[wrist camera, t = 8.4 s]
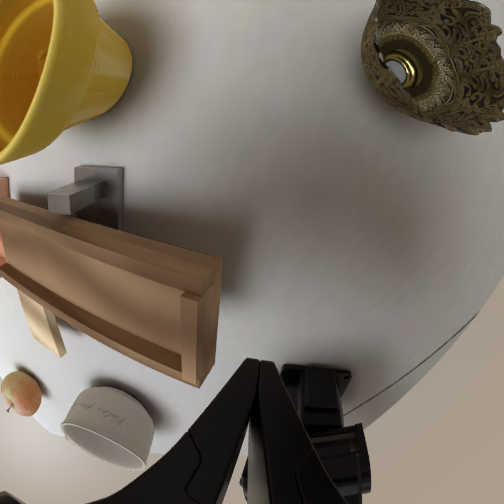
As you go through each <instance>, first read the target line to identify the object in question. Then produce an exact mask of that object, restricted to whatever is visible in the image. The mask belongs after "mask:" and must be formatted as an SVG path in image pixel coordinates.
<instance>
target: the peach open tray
mask: <svg viewBox="0 0 504 504" xmlns="http://www.w3.org/2000/svg"><path fill="white" fill-rule="evenodd" d="M2 197H7V198H10V194H9V183H8V178H6V177H0V198H2ZM5 263H7V261H6V257H5V252H4V248H3V243H2V238H1V232H0V266H1V265H3V264H5ZM1 277H2V276H0V278H1Z"/></svg>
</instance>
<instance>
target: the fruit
mask: <svg viewBox="0 0 504 504" xmlns="http://www.w3.org/2000/svg"><path fill="white" fill-rule="evenodd" d="M1 392H2V396H3V397H4V400H5V401H6V403H7V404H8V405H9V406H10V407H11V408H12V409H13V410H14V411H16V412H17V413H18V414H20V415H22V416H31V415H33V414H34V413H36V411H37V410H38V408H39V406H40V403H41V397H42V396H41V390H40V387H39V384H38V383H37V381H36V380H35V379H34V378H32V377H31V376H29V375H28V374H26V373H25V372H21V371H16V372H12V373H10V374H8V375H7V376H6V377H5V378H4V380H3V382H2V385H1ZM9 409H10V408H9ZM9 409H8V410H7V412H9Z"/></svg>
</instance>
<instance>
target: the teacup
mask: <svg viewBox="0 0 504 504" xmlns="http://www.w3.org/2000/svg"><path fill="white" fill-rule="evenodd" d="M61 430H62V431H63V433H64V434H65V438H66V440H67V441H68V442H69V443H70V444H72V445H77V446H78V447H80V448H81V449H83V450H84V451H86V452H87V453H89V454H90V455H92V456H94V457H96V458H98V459H100V460H102V461H105V462H107V463H109V464H112V465H115V466H118V467H121V468H124V469H129V470H143V469H145V468H146V461H147V458H148V454H149V451H150V447H151V444H152V440H153V435H154V424H153V421H152V419H151V417H150V415H149V414H148V413H147V412H146V410H145V408H144V407H143V405H142V404H141V403H140V402H139V401H138V400H137V399H135V398H134V397H132V396H131V395H129V394H128V393H126V392H124V391H121V390H119V389H116V388H112V387H92V388H88V389H86V390H84V391H83V392H81V393H80V395H79V396H78V397H77V399H76V400H75V402H74V403H73V405H72V407H71V409H70V411H69V412H68V414H67V416H66V418H65V420H64V422H62V423H61Z"/></svg>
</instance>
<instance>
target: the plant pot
mask: <svg viewBox="0 0 504 504" xmlns="http://www.w3.org/2000/svg"><path fill="white" fill-rule="evenodd" d="M131 72H132V55H131V51H130V49H129V47H128V45H127V43H126V42H125V41H124V40H123V39H122V38H121V37H120V36H119V35H118V34H117V33H116V32H115V31H114V30H113V29H112V28H111V27H110V26H108V25H107V24H106V23H105V22H104V21H103V20H102V19H101V18H100V17H99V14H98V10H97V7H96V5H95V3H94V1H93V0H0V165H1V164H4V163H8V162H11V161H14V160H17V159H20V158H23V157H26V156H29V155H32V154H34V153H37V152H39V151H41V150H43V149H44V148H46V147H47V146H49V145H50V144H51V143H52V142H53V141H54V140H55V139H56V138H57V137H58V136H59V135H60V134H61V133H62V132H63V131H64V130H66V129H68V128H70V127H73V126H75V125H77V124H80V123H82V122H84V121H87V120H89V119H92V118H94V117H97V116H99V115H101V114H103V113H105V112H106V111H108V110H109V109H110V108H111V107H113V106H114V105H115V104H116V102H117V101H118V100H119V99H120V97H121V96H122V94H123V93H124V91H125V89H126V87H127V85H128V83H129V80H130V76H131Z"/></svg>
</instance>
